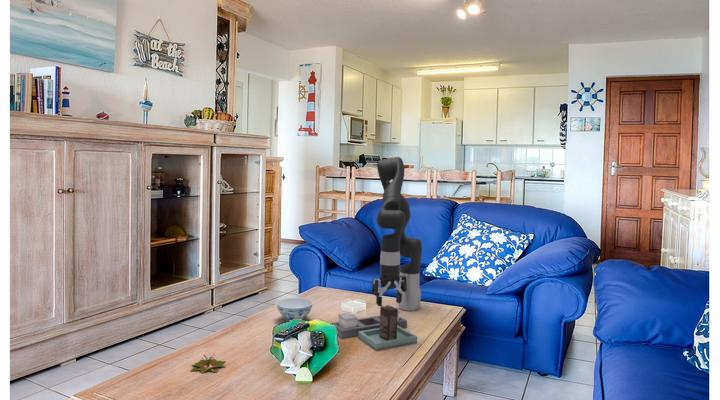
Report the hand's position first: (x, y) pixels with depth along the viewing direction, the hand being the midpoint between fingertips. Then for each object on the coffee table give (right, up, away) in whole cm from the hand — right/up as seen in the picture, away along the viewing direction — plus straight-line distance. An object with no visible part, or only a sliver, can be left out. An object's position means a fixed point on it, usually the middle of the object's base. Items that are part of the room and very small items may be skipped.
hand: (389, 304), depth 183 cm
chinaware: (-39, -12, +21) cm, 46 cm away
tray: (-1, -14, +1) cm, 14 cm away
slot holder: (-7, -13, +13) cm, 20 cm away
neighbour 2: (+1, -13, +18) cm, 22 cm away
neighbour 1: (-16, -13, +9) cm, 23 cm away
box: (0, -14, +1) cm, 14 cm away
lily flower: (-61, -15, -26) cm, 68 cm away
